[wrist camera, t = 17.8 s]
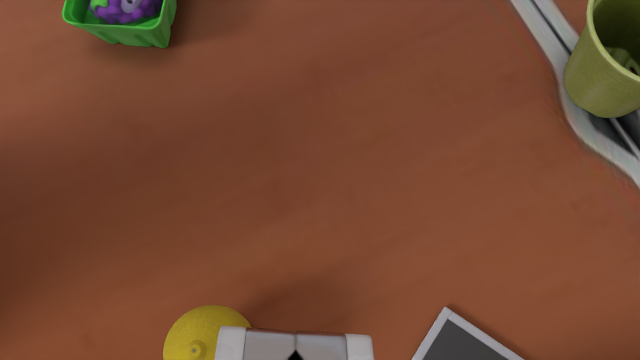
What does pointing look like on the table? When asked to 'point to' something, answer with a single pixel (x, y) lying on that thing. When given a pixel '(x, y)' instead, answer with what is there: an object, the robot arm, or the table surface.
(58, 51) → the table surface
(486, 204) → the table surface
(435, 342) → the hob
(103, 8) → the fruit basket
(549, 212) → the table surface
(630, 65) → the plant pot
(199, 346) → the lemon
